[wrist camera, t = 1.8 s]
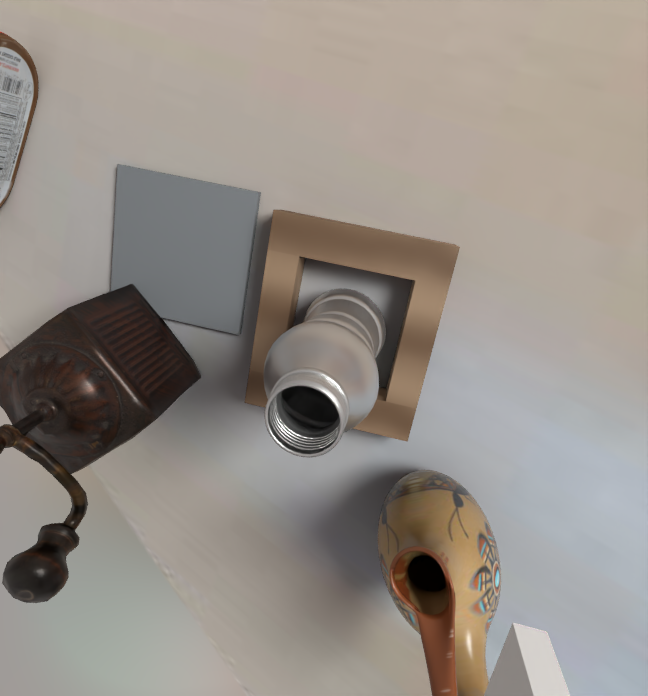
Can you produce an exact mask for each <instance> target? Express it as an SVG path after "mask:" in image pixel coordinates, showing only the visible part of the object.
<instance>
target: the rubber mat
mask: <svg viewBox="0 0 648 696" xmlns="http://www.w3.org/2000/svg"><path fill="white" fill-rule="evenodd" d="M260 194H261V192H256V191H251V190H246V189H241V188H236V187H231V186H226V185H221V184H216V183H210V182H205V181H200V180H195V179H190V178H185V177H180V176H175V175H170V174H165V173H160V172H155V171H150V170H145V169H140V168H135V167H130V166H125V165H120V164H117V182H116V201H115V219H114V238H113V256H112V274H111V291H114V290H117V289H119V288H122V287H125V286H127V285H129V284H133V285H134V286H135V287H136V288H137V289H138V291H139V292H140V293H141V294H142V295H143V297H144V298H145V299H146V300H147V301H148V303H149V304H150V305H151V306H152V308H153V309H154V310H155V311H156V312H157V314H158V315H159V316H160V317H162V318H166V319H170V320H175V321H179V322H184V323H188V324H193V325H197V326H201V327H206V328H210V329H215V330H219V331H224V332H228V333H232V334H237V335H239V334H241V329H242V322H243V315H244V308H245V300H246V293H247V286H248V279H249V272H250V265H251V258H252V251H253V244H254V237H255V230H256V223H257V216H258V208H259V201H260Z"/></svg>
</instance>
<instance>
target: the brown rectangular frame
mask: <svg viewBox="0 0 648 696" xmlns="http://www.w3.org/2000/svg"><path fill="white" fill-rule="evenodd" d="M459 248H460V247H458V246H456V245H454V244H449V243H444V242H439V241H434V240H429V239H424V238H419V237H414V236H409V235H404V234H399V233H395V232H390V231H385V230H380V229H375V228H370V227H365V226H360V225H355V224H350V223H345V222H340V221H335V220H330V219H325V218H320V217H315V216H310V215H305V214H300V213H295V212H290V211H285V210H274V211H273V217H272V224H271V230H270V237H269V244H268V250H267V257H266V264H265V270H264V277H263V284H262V290H261V297H260V304H259V310H258V317H257V323H256V330H255V337H254V343H253V350H252V357H251V363H250V370H249V377H248V383H247V390H246V396H245V403H248V404H252V405H257V406H261V407H265V408H266V404H267V401H268V398H267V395H266V391H265V387H264V365H265V360H266V357H267V354H268V352H269V350H270V348H271V346H272V345H273V343H274V342H275V341H276V340H277V339H278V338H279V337H280V336H281V335H282V334H283V333H285V332H286V331H288V330H289V329H291V328H292V327H293V325H294V320H295V314H296V308H297V303H298V297H299V291H300V285H301V280H302V274H303V268H304V263H305V258H310V259H314V260H319V261H324V262H329V263H334V264H338V265H343V266H348V267H353V268H357V269H362V270H367V271H372V272H377V273H381V274H386V275H391V276H396V277H401V278H405V279H410V280H413V282H412V286H411V290H410V294H409V298H408V302H407V307H406V311H405V315H404V319H403V323H402V327H401V331H400V335H399V339H398V343H397V347H396V351H395V355H394V359H393V364H392V368H391V372H390V376H389V380H388V384H387V388H382V387H379V390H378V395H377V399H376V402H375V404H374V406H373V408H372V410H371V411H370V413H369V414H368V415H367V417H366V418H365V419H363V420H362V421H361V422H360V423H359V424H358V425H356V426H355V427H354V428H353V429H357V430H361V431H366V432H370V433H374V434H378V435H382V436H387V437H391V438H395V439H399V440H403V441H408V437H409V434H410V430H411V426H412V422H413V419H414V415H415V411H416V408H417V404H418V400H419V396H420V393H421V389H422V385H423V382H424V378H425V374H426V371H427V367H428V363H429V359H430V356H431V352H432V348H433V345H434V341H435V337H436V333H437V330H438V326H439V322H440V319H441V315H442V311H443V307H444V304H445V300H446V296H447V293H448V289H449V285H450V282H451V278H452V274H453V270H454V267H455V263H456V259H457V256H458V252H459Z"/></svg>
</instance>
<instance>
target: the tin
mask: <svg viewBox="0 0 648 696" xmlns="http://www.w3.org/2000/svg"><path fill="white" fill-rule="evenodd" d="M37 98H38V75H37V71H36V67H35V65H34V62H33V60H32V58H31V56H30V55H29V53H28V52H27V51H26V49H25V48H24V47H23V46H22V45H20V44H19V43H18V42H17V41H16V40H14V39H13V38H11V37H10V36H8V35H6V34H4V33H2V32H0V207H1V206H2V205H3V203H4V202H5V201H6V199H7V197H8V196H9V194H10V192H11V189H12V187H13V184H14V180H15V177H16V173H17V170H18V167H19V163H20V159H21V156H22V153H23V149H24V146H25V142H26V139H27V135H28V132H29V128H30V125H31V121H32V118H33V114H34V111H35V107H36V103H37Z"/></svg>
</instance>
